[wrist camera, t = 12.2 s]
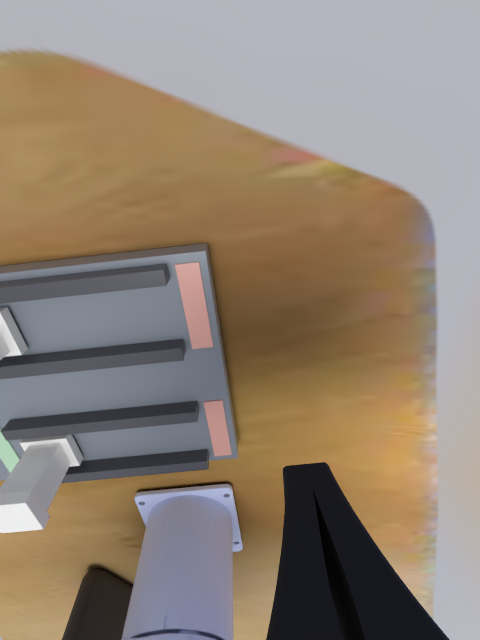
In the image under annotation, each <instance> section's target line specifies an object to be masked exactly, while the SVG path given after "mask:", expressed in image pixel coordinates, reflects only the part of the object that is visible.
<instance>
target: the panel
mask: <svg viewBox="0 0 480 640" xmlns="http://www.w3.org/2000/svg"><path fill="white" fill-rule="evenodd" d="M0 307H8V309H9V311H10V313H11V315H12V317H13V319H14V322H15V324H16V326H17V328H18V330H19V332H20V334H21V336H22V338H23V340H24V342H25V344H26V346H27V348H28V349H27V350H26V351H25V352H24V353H23V354H22V355H16V356H7V357H4V358H2V359H1V360H0V481H1V480H6V479H7V477H8V476H9V475H10V473H11V472H12V470H13V469H14V467H15V466H16V464H17V463H18V461H19V460H20V458H21V457H22V455H23V454H24V452H25V451H24V450H23V448H22V446H21V445H20V441H21V440H22V439H29V438H40V437H50V436H60V435H70V434H72V436H73V438H74V440H75V442H76V444H77V446H78V448H79V450H80V452H81V454H82V456H83V460H82V462H81V464H80V466H72V467H69V468H68V470H67V472H66V474H65V476H64V478H63V480H62V482H61V483H68V482H79V481H89V480H100V479H110V478H121V477H131V476H142V475H153V474H163V473H174V472H184V471H195V470H205V469H209V461H210V460H221V459H231V458H238V440H237V433H236V427H235V420H234V414H233V407H232V401H231V394H230V388H229V381H228V375H227V368H226V362H225V355H224V349H223V342H222V336H221V329H220V323H219V316H218V309H217V303H216V296H215V290H214V283H213V277H212V270H211V264H210V257H209V251H208V244H207V243H203V244H194V245H185V246H176V247H167V248H158V249H149V250H140V251H131V252H122V253H113V254H104V255H95V256H86V257H77V258H68V259H59V260H51V261H42V262H33V263H24V264H15V265H6V266H0Z"/></svg>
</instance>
